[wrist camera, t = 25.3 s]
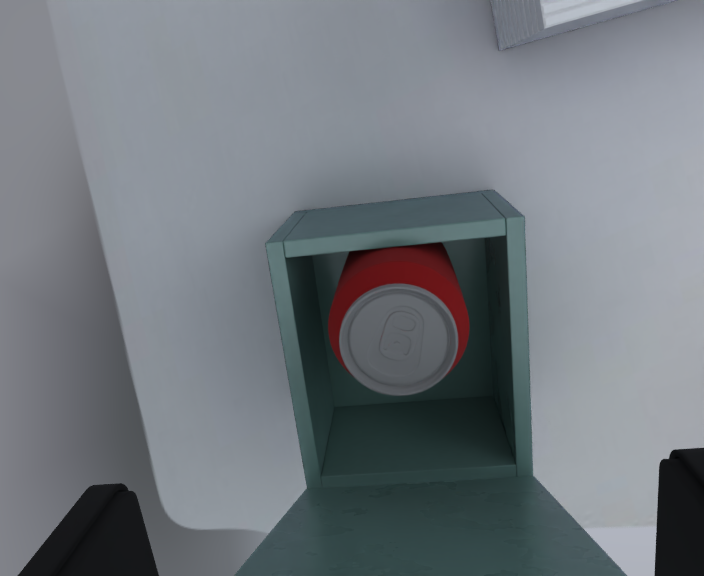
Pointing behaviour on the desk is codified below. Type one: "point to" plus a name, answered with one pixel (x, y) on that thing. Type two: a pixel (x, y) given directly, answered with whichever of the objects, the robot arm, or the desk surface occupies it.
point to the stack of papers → (556, 16)
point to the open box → (450, 392)
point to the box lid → (430, 533)
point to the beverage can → (399, 318)
